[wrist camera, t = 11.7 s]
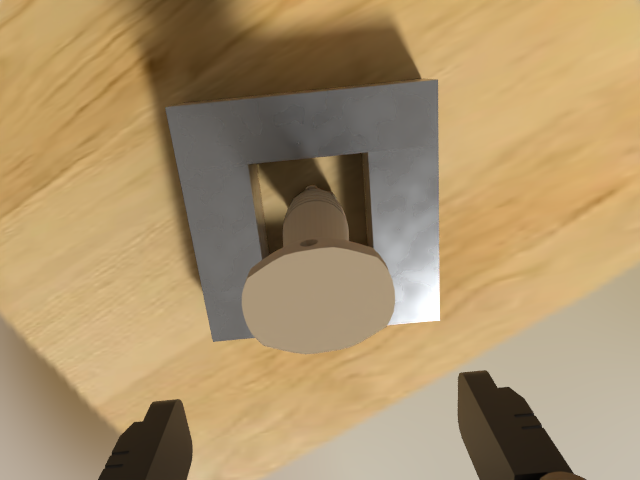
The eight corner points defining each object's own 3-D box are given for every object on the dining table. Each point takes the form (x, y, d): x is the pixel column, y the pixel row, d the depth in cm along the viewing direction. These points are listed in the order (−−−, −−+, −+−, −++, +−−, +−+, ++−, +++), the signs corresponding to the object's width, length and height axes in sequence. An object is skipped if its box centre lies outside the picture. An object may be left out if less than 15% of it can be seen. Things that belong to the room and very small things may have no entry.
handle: (362, 229, 34) (400, 340, 20) (277, 243, 34) (255, 362, 20) (353, 165, 32) (388, 237, 18) (264, 180, 33) (230, 262, 19)
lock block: (182, 102, 31) (165, 107, 27) (422, 78, 30) (437, 79, 27) (223, 313, 36) (213, 341, 32) (425, 294, 36) (439, 320, 32)
